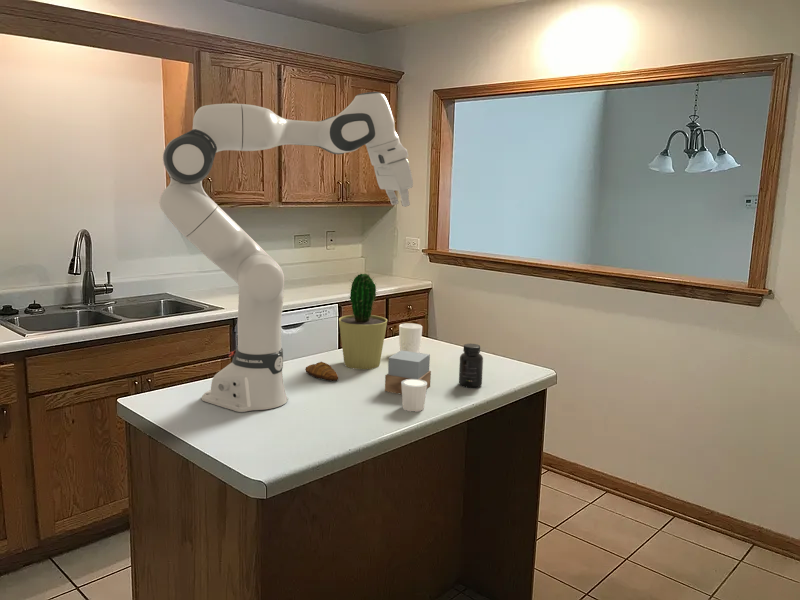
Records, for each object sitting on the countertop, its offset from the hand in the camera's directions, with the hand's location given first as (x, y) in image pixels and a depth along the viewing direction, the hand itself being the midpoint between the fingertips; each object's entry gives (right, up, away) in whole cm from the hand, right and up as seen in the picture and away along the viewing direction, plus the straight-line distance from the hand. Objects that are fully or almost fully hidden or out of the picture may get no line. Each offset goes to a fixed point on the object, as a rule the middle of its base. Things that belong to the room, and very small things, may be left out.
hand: (400, 205), depth 174 cm
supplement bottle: (+20, -50, +18) cm, 57 cm away
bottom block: (+2, -51, +12) cm, 52 cm away
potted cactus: (-12, -46, +35) cm, 59 cm away
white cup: (+3, -44, +49) cm, 66 cm away
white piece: (+3, -54, -3) cm, 54 cm away
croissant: (-24, -49, +20) cm, 58 cm away
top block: (+2, -46, +11) cm, 48 cm away
